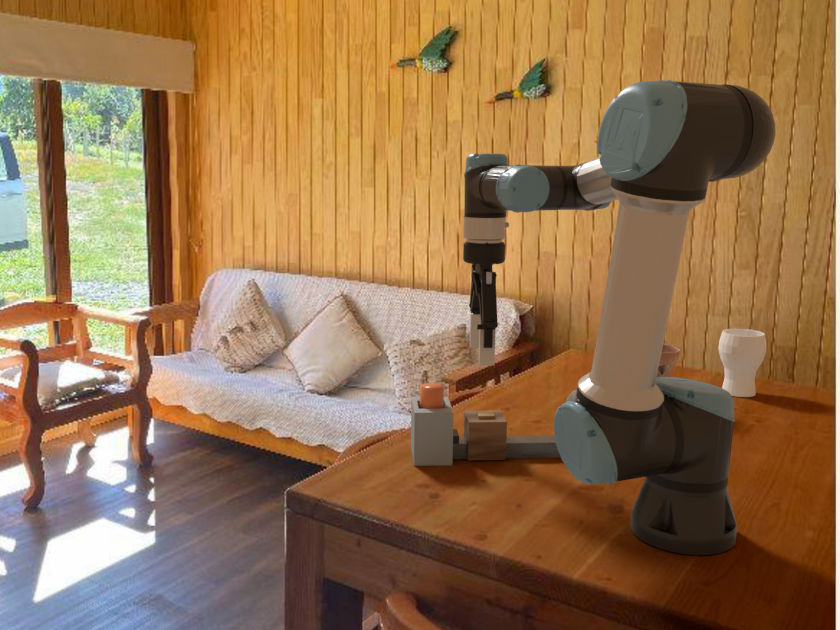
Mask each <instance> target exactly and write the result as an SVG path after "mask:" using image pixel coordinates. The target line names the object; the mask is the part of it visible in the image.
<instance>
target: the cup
mask: <svg viewBox="0 0 840 630" xmlns="http://www.w3.org/2000/svg"><path fill="white" fill-rule="evenodd" d="M721 331H722V332H721V334H720V337H719V340H718V354H719V357H720V361H721V363H722V365H723V367H724V368H723V370H724V380H723V383H722V387H721V388H722V389H724V390H726V391H728V392H729V393H730V394H731V396H732V397H738V398H751V397H755V396H756V374H757V371H758V369H759V367H760V366H761V364H762V363H763V361H764V359H765V356H766V353H767V340H766V333H764V332H762V331H760V330H755V329H747V328H726V329H723V330H721Z"/></svg>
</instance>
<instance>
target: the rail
mask: <svg viewBox="0 0 840 630" xmlns="http://www.w3.org/2000/svg"><path fill="white" fill-rule="evenodd" d="M467 453H468V443H467V440H466V437H464V436H460V435H459V431H458V429H457V428H453V460H468V458H467ZM556 458H557V459H558V458H560V459H561V456H560V453H559V451H558V449H557V445H556V441H555V436H554V435H549V434H547V435H507V440H506V459H556Z"/></svg>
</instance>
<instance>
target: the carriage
mask: <svg viewBox="0 0 840 630" xmlns="http://www.w3.org/2000/svg"><path fill="white" fill-rule="evenodd" d="M463 411H464V414H463V415H464V417H463V418H464V420H463V425H464V426H463V437H466V440H467V443H468V453H467V458H468V459H467V461H506V459H507V458H506V440H507V436H508V435H507V434H508V433H507V432H508V431H507V430H508V421H507V419H506V417H505V416H504V413H503V412H502V410H463Z"/></svg>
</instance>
